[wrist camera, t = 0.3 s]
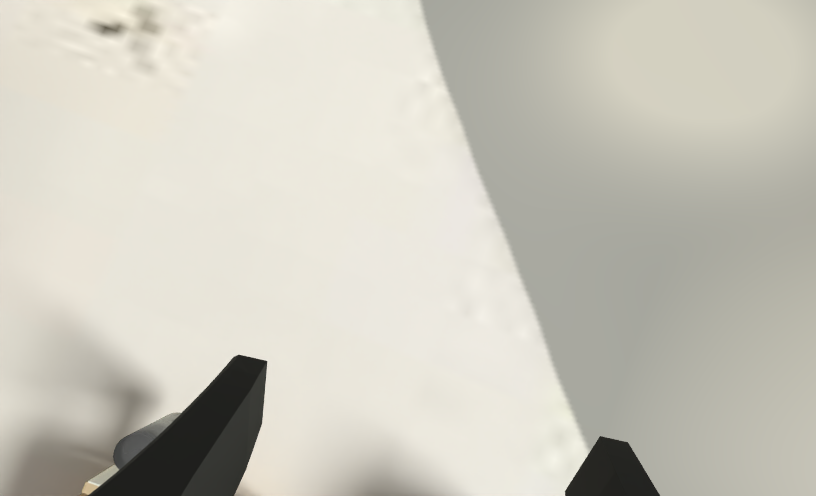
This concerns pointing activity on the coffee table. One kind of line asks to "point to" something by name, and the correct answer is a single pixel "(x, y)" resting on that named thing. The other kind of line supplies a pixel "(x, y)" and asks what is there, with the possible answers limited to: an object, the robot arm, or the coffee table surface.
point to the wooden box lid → (130, 450)
